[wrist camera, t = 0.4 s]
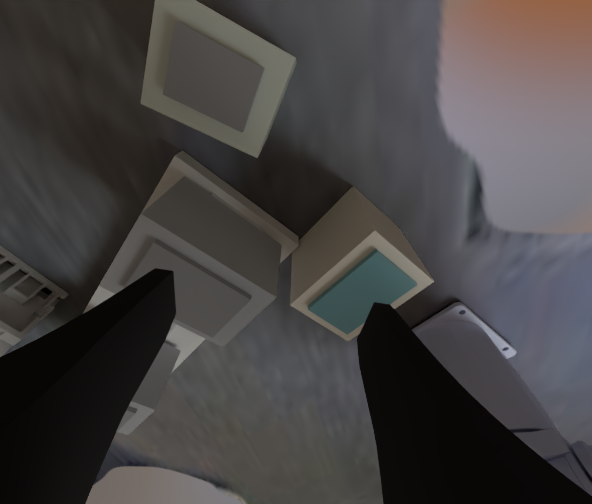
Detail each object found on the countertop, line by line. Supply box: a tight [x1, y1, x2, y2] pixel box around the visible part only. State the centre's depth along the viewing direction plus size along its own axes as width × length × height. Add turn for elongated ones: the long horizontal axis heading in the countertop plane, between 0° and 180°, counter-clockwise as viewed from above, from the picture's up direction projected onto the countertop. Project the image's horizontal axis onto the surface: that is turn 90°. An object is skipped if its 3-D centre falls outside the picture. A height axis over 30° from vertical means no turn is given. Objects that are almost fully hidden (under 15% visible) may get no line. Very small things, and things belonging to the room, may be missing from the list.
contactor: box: [140, 0, 296, 158], centre depth 12 cm, size 5×4×5 cm
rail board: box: [83, 150, 299, 435], centre depth 19 cm, size 9×20×7 cm, turn 140°
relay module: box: [290, 186, 434, 341], centre depth 17 cm, size 4×6×6 cm
